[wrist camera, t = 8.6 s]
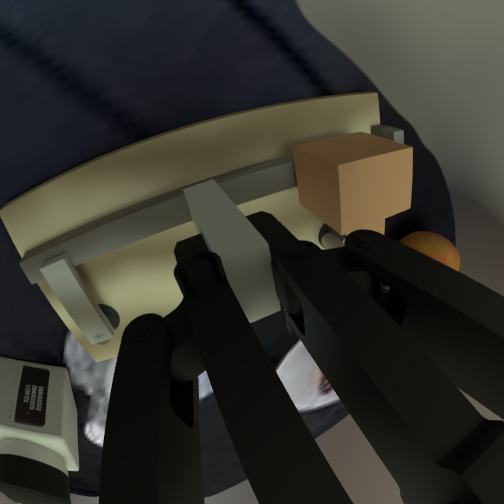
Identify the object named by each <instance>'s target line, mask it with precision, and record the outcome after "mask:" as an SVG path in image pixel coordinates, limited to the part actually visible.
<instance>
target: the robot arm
mask: <svg viewBox="0 0 504 504" xmlns="http://www.w3.org/2000/svg"><path fill="white" fill-rule="evenodd" d="M183 191H184V194H185V197H186V200H187V204H188V207H189V210H190V213H191V216H192V219H193V222H194V225H195V228H196V231H197V235H195V236H192V237H189V238H187V239H184V240H181V241H178V242H177V243H176V246H175V248H174V254H175V258H176V262H177V265H176V266H175V268H174V274H173V275H174V277H175V279H176V281H177V284H178V286H179V288H180V290H181V293H182V295H183V299H182V301H181V303H180V304H179V305H178V307H177V308H176V309H174V310H173V311H172V312H171V313H169V314H168V315H166V316H165V317H162V316H161V315H158V314H156V313H146V314H143V315H140V316H138V317H136V318H135V319H133V320H132V321H131V322H130V323H129V324H128V325H127V326H126V327H125V330H124V332H123V334H122V338H121V343H120V347H119V352H118V357H117V362H116V366H115V372H114V377H113V382H112V388H111V393H110V399H109V406H108V412H107V419H106V426H105V434H104V442H103V451H102V461H101V473H100V488H99V504H204V492H203V478H202V463H201V445H200V421H199V382H198V376H199V375H200V374H201V373H203V372H204V371H207V374H208V377H209V380H210V383H211V386H212V389H213V392H214V395H215V397H216V400H217V403H218V406H219V408H220V411H221V414H222V416H223V419H224V422H225V424H226V427H227V430H228V432H229V435H230V437H231V440H232V442H233V445H234V447H235V450H236V452H237V455H238V457H239V459H240V462H241V464H242V466H243V469H244V471H245V473H246V476H247V478H248V480H249V482H250V485H251V487H252V489H253V491H254V494H255V496H256V498H257V500H258V502H259V504H353V502H352V501H351V499H350V498H349V496H348V494H347V493H346V491H345V490H344V488H343V486H342V485H341V483H340V481H339V480H338V478H337V477H336V475H335V473H334V472H333V470H332V468H331V467H330V465H329V463H328V462H327V460H326V458H325V457H324V455H323V453H322V452H321V450H320V448H319V446H318V445H317V443H316V441H315V440H314V438H313V436H312V435H311V433H310V431H309V429H308V428H307V426H306V424H305V422H304V421H303V419H302V417H301V415H300V414H299V412H298V410H297V408H296V407H295V405H294V403H293V401H292V400H291V398H290V396H289V394H288V392H287V391H286V389H285V387H284V385H283V383H282V382H281V380H280V378H279V376H278V374H277V373H276V371H275V369H274V367H273V365H272V363H271V362H270V360H269V358H268V356H267V354H266V352H265V351H264V349H263V347H262V345H261V343H260V341H259V339H258V337H257V336H256V334H255V332H254V330H253V328H252V326H251V324H250V323H251V322H254V321H256V320H259V319H261V318H263V317H266V316H268V315H270V314H273V313H275V312H278V311H280V310H281V309H280V303H279V300H280V302H281V303H282V305H283V306H284V308H285V313H286V319H287V325H288V330H289V333H290V335H291V334H293V330H292V328H293V329H294V331H295V332H296V334H297V335H298V337H299V338H300V340H301V341H302V343H303V344H304V346H305V347H306V349H307V350H308V352H309V353H310V355H311V356H312V358H313V359H314V361H315V362H316V364H317V365H318V367H319V368H320V370H321V371H322V373H323V374H324V376H325V377H326V379H327V380H328V382H329V383H330V385H331V386H332V388H333V389H334V391H335V392H336V394H337V395H338V397H339V398H340V400H341V401H342V403H343V404H344V406H345V407H346V409H347V410H348V412H349V413H350V414H351V416H352V418H353V419H354V421H355V422H356V423H357V425H358V427H359V428H360V429H361V431H362V432H363V434H364V435H365V437H366V438H367V440H368V441H369V443H370V444H371V446H372V447H373V449H374V450H375V452H376V453H377V455H378V456H379V457H380V459H381V460H382V462H383V463H384V465H385V466H386V468H387V469H388V471H389V472H390V474H391V475H392V477H393V478H394V479H395V481H396V482H397V484H398V486H399V488H400V495H401V498H402V501H403V502H404V504H504V421H501V420H488V419H486V418H484V417H483V416H482V415H480V413H479V412H478V411H477V410H476V409H475V407H474V406H473V405H472V404H471V403H470V402H469V401H468V399H467V398H466V397H465V396H464V395H463V394H462V393H461V392H460V390H459V389H461V390H462V391H463V392H465V393H466V394H468V395H469V396H471V397H472V398H474V399H475V400H477V401H478V402H479V403H481V404H482V405H484V406H485V407H486V408H488V409H489V410H491V411H492V412H493V413H495V414H496V415H498V416H499V417H501V418H502V419H504V297H503V296H502V295H500V294H498V293H497V292H495V291H493V290H491V289H489V288H488V287H486V286H484V285H482V284H481V283H479V282H477V281H475V280H473V279H471V278H469V277H468V276H466V275H464V274H462V273H460V272H458V271H457V270H455V269H453V268H451V267H449V266H447V265H445V264H443V263H441V262H439V261H437V260H435V259H433V258H431V257H429V256H427V255H425V254H423V253H421V252H419V251H417V250H415V249H413V248H411V247H409V246H407V245H405V244H403V243H400V242H398V241H396V240H394V239H392V238H390V237H388V236H385V235H383V234H381V233H379V232H376V231H373V230H366V229H361V230H355V231H353V232H351V233H349V234H348V235H347V236H346V237H345V240H344V246H343V247H337V248H331V249H321V248H320V247H319V246H318V245H316V244H314V243H313V242H310V241H306V240H298V239H297V238H296V237H295V236H294V235H293V234H292V233H291V232H290V231H289V230H288V229H287V228H286V227H285V226H283V224H282V223H281V222H279V221H278V220H277V219H276V218H275V217H274V216H273V215H272V214H270V213H267V212H264V211H259V212H256V213H253V214H250V215H248V216H244V214H243V213H242V212H241V211H240V210H239V209H238V207H237V206H236V205H235V204H234V203H233V202H232V200H231V199H230V198H229V197H228V196H227V195H226V193H225V192H224V191H223V190H222V189H221V188H220V186H219V185H218V184H217V183H216V182H215V181H214V179H212V180H209V181H206V182H203V183H200V184H197V185H194V186H191V187H188V188H186V189H183ZM382 282H384V283H385V284H387V285H389V286H390V289H389V290H386V289H384V288H382ZM457 387H458V388H459V389H458V388H457Z"/></svg>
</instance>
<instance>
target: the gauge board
mask: <svg viewBox="0 0 504 504" xmlns="http://www.w3.org/2000/svg"><path fill="white" fill-rule="evenodd" d="M356 132H365V133H368V134H372V135H375V136H379V137H382V138H386V139H389V140H392V141H395V142H398V143H401V144H404V134H403V130H400V129H397V128H393V127H389V126H385V125H381V124H380V116H379V103H378V93H374V92H358V93H347V94H338V95H329V96H321V97H314V98H307V99H301V100H294V101H289V102H283V103H277V104H272V105H267V106H262V107H257V108H253V109H248V110H244V111H239V112H235V113H231V114H227V115H223V116H219V117H215V118H211V119H208V120H204V121H200V122H197V123H193V124H190V125H187V126H183V127H180V128H177V129H174V130H170V131H167V132H164V133H161V134H158V135H155V136H152V137H150V138H147V139H144V140H141V141H138V142H136V143H133V144H130V145H128V146H125V147H122V148H120V149H117V150H115V151H112V152H110V153H107V154H105V155H102V156H100V157H98V158H95V159H93V160H91V161H89V162H86V163H84V164H82V165H80V166H77V167H75V168H73V169H71V170H69V171H67V172H65V173H63V174H60V175H58V176H56V177H54V178H52V179H50V180H48V181H47V182H45V183H43V184H41V185H39V186H37V187H35V188H33V189H31V190H30V191H28V192H26V193H24V194H22V195H21V196H19V197H17V198H15V199H14V200H12V201H10V202H9V203H7V204H5V205H4V206H3V207H2V208H1V209H0V216H1V219H2V221H3V223H4V225H5V227H6V229H7V231H8V233H9V235H10V237H11V239H12V241H13V242H14V244H15V246H16V248H17V250H18V252H19V253H20V255H21V257H22V259H21V261H20V263H19V264H20V266H21V268H22V270H23V271H24V273H25V274H26V276H27V278H28V279H29V281H30V282H31V284H34V283H37V284H38V285H39V287H40V288H41V290H42V291H43V293H44V294H45V296H46V297H47V299H48V300H49V302H50V303H51V305H52V306H53V308H54V309H55V310H56V312H57V313H58V315H59V316H60V317H61V319H62V320H63V322H64V323H65V324H66V326H67V327H68V328H69V330H70V331H71V332H72V333H73V335H74V336H75V337H76V339H77V340H78V341H79V342H80V344H81V345H82V346H83V347H84V348H85V350H86V351H87V352H88V353H89V354H90V356H91V357H92V358H93V359H94V360H95V361H96V363H97V362H100V361H103V360H107V359H110V358H113V357H116V356H118V352H119V347H120V343H121V338H122V334H123V332H124V330H125V327H126V326H127V325H128V324H129V323H130V322H131V321H132V320H133V319H135V318H136V317H138V316H140V315H143V314H146V313H156V314H158V315H161V316H162V317H165V316H166V315H168V314H169V313H171V312H172V311H173V310H174V309H176V308H177V307H178V305H179V304H180V303H181V301H182V299H183V295H182V293H181V290H180V288H179V286H178V284H177V281H176V279H175V277H174V275H173V274H174V268H175V266H176V265H177V262H176V258H175V254H174V248H175V246H176V243H177V242H178V241H181V240H184V239H187V238H189V237H192V236H195V235H197V231H196V228H195V225H194V222H193V219H192V216H191V213H190V210H189V207H188V204H187V200H186V197H185V194H184V191H183V189H186V188H188V187H191V186H194V185H197V184H200V183H203V182H206V181H209V180H212V179H214V181H215V182H216V183H217V184H218V185H219V186H220V188H221V189H222V190H223V191H224V192H225V193H226V195H227V196H228V197H229V198H230V199H231V200H232V202H233V203H234V204H235V205H236V206H237V207H238V209H239V210H240V211H241V212H242V213H243V214H244V216H248V215H250V214H253V213H256V212H259V211H264V212H267V213H270V214H272V215H273V216H274V217H275V218H276V219H277V220H278V221H279V222H281V223H282V224H283V226H285V227H286V228H287V229H288V230H289V231H290V232H291V233H292V234H293V235H294V236H295V237H296V238H297V239H298V240H306V241H310V242H313V243H314V244H316V245H318V246H319V247H320V248H321V249H327V248H325V247H324V246H323V245H322V243H321V239H322V237H323V236H324V235H325V234H326V233H332V234H333V235H335V236H336V237H337V238H338V239H339V240H341V241H342V242H343V243H344V240H345V237H346V236H347V235H348V234H349V233H347V234H345V235H342V236H341V235H340V234H339V233H338V232H336V231H335V230H334V229H332V228H331V227H330V226H329V225H327V224H326V223H325V222H323V221H322V220H321V219H319V218H318V217H317V216H316V215H314V214H313V213H312V212H310V211H309V210H308V209H306V208H305V207H304V206H302V205H301V204H300V203H299V195H298V187H297V179H296V172H295V165H294V158H293V151H292V146H295V145H299V144H304V143H308V142H312V141H317V140H321V139H326V138H331V137H335V136H340V135H345V134H350V133H356Z"/></svg>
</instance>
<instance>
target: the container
mask: <svg viewBox="0 0 504 504" xmlns="http://www.w3.org/2000/svg"><path fill="white" fill-rule="evenodd" d="M68 470H71V471H78V470H79V460H78V442H77V409H76V405H75V401H74V397H73V393H72V389H71V384H70V380H69V375H68V370H67V369H66V368H65V367H59V366H52V365H45V364H38V363H32V362H26V361H21V360H15V359H10V358H5V357H0V491H1V492H2V493H3V494H4V495H6V496H7V497H8V498H9V499H11V500H13V501H15V502H17V503H19V504H71V500H70V492H69V482H68Z"/></svg>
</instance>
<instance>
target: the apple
mask: <svg viewBox="0 0 504 504" xmlns="http://www.w3.org/2000/svg"><path fill="white" fill-rule="evenodd" d="M399 242H400V243H403V244H405V245H407V246H409V247H411V248H413V249H415V250H417V251H419V252H421V253H423V254H425V255H427V256H429V257H431V258H433V259H435V260H437V261H439V262H441V263H443V264H445V265H447V266H449V267H451V268H453V269H455V270H457V271H459V266H460V258H459V254H458V251H457V250H456V248H455V247H454V245H453V244H452V243H451V242H450V241H448V240H447V239H446V238H444V237H443V236H441V235H439V234H436V233H432V232H426V231H418V232H413V233H410V234H408V235H406V236H405V237H403V238H402V239H401V240H400V241H399Z"/></svg>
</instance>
